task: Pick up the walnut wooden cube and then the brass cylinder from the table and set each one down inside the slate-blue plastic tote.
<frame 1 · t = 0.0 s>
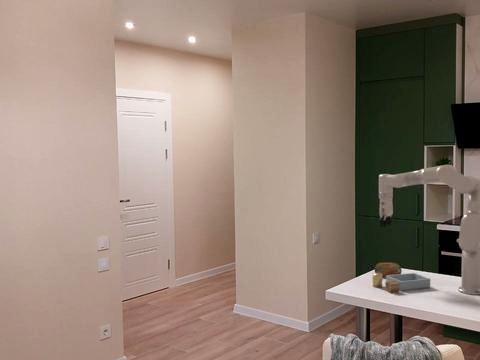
hand: (385, 225, 278), 31 cm above the table, tool pointing down, fingers open, 9 cm apart
tote: (407, 286, 266), on the table
tin: (388, 277, 286), on the table
brass cylinder: (377, 286, 267), on the table
walnut cube: (392, 291, 257), on the table
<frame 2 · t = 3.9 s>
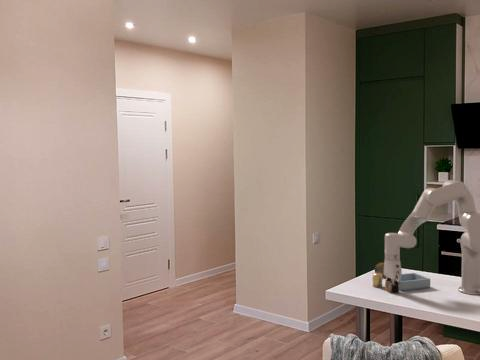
hand: (392, 290, 256), 1 cm above the table, tool pointing down, fingers closed on walnut cube, 5 cm apart
walnut cube: (392, 291, 256), on the table, touching gripper
everything else where it was.
when the fingers open (4 cm above the table, at t = 9.4 s): walnut cube drops 3 cm, resting on tote.
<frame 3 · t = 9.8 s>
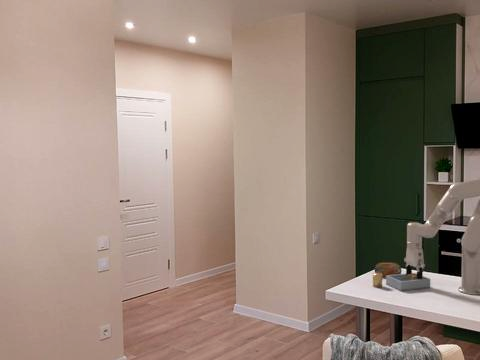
hand: (414, 276, 267), 5 cm above the table, tool pointing down, fingers open, 9 cm apart
walnut cube: (414, 284, 267), point 1 cm above the table, touching tote
everything else where it was.
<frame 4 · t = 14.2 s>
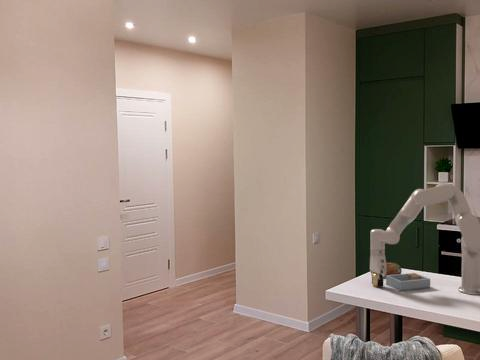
hand: (377, 284, 267), 1 cm above the table, tool pointing down, fingers closed on brass cylinder, 5 cm apart
brass cylinder: (377, 286, 267), on the table, touching gripper
everything else where it was.
when the fingers open (5 cm above the table, at t = 19.4 s): brass cylinder drops 3 cm, resting on tote.
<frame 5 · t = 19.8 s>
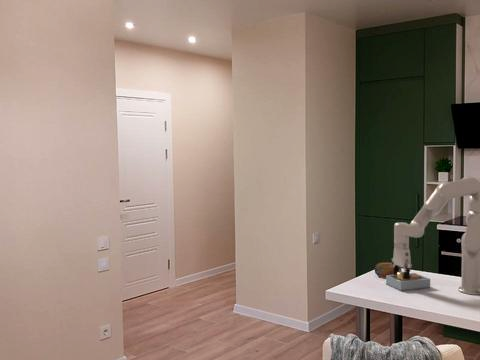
hand: (401, 276, 264), 6 cm above the table, tool pointing down, fingers open, 9 cm apart
brass cylinder: (401, 285, 265), point 1 cm above the table, touching tote
everything else where it was.
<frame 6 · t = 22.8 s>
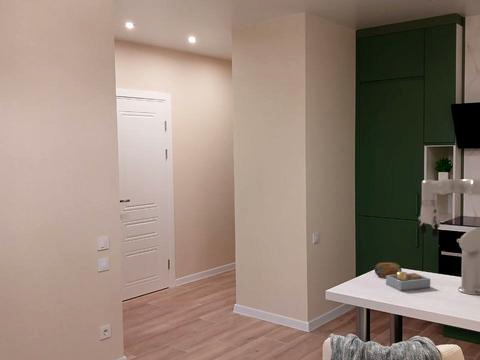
hand: (429, 234, 264), 28 cm above the table, tool pointing down, fingers open, 9 cm apart
nothing on the table moved.
at the end: walnut cube inside the target area on the tote (4.0 cm from its centre), point 0.8 cm above the tote's base; brass cylinder inside the target area on the tote (3.9 cm from its centre), point 0.9 cm above the tote's base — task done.
